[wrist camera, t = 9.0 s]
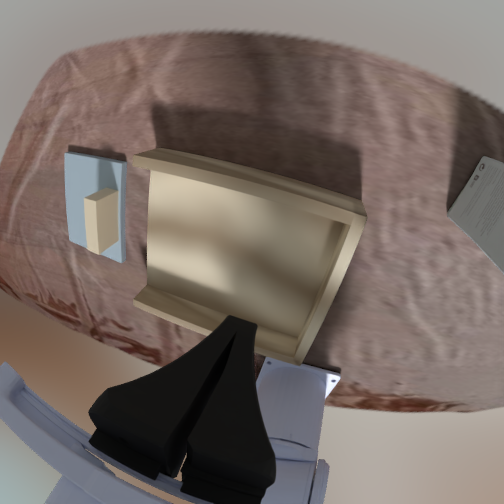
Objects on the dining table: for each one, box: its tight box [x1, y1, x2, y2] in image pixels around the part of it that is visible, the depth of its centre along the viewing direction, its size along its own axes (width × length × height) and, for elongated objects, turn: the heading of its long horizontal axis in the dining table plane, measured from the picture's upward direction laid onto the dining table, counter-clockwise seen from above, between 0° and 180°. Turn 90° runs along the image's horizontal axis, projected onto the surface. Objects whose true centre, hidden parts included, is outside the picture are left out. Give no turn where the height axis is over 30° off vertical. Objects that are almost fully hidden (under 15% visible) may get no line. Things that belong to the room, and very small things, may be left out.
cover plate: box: [65, 151, 127, 263], centre depth 23 cm, size 10×8×4 cm
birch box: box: [133, 148, 368, 366], centre depth 21 cm, size 14×16×4 cm
